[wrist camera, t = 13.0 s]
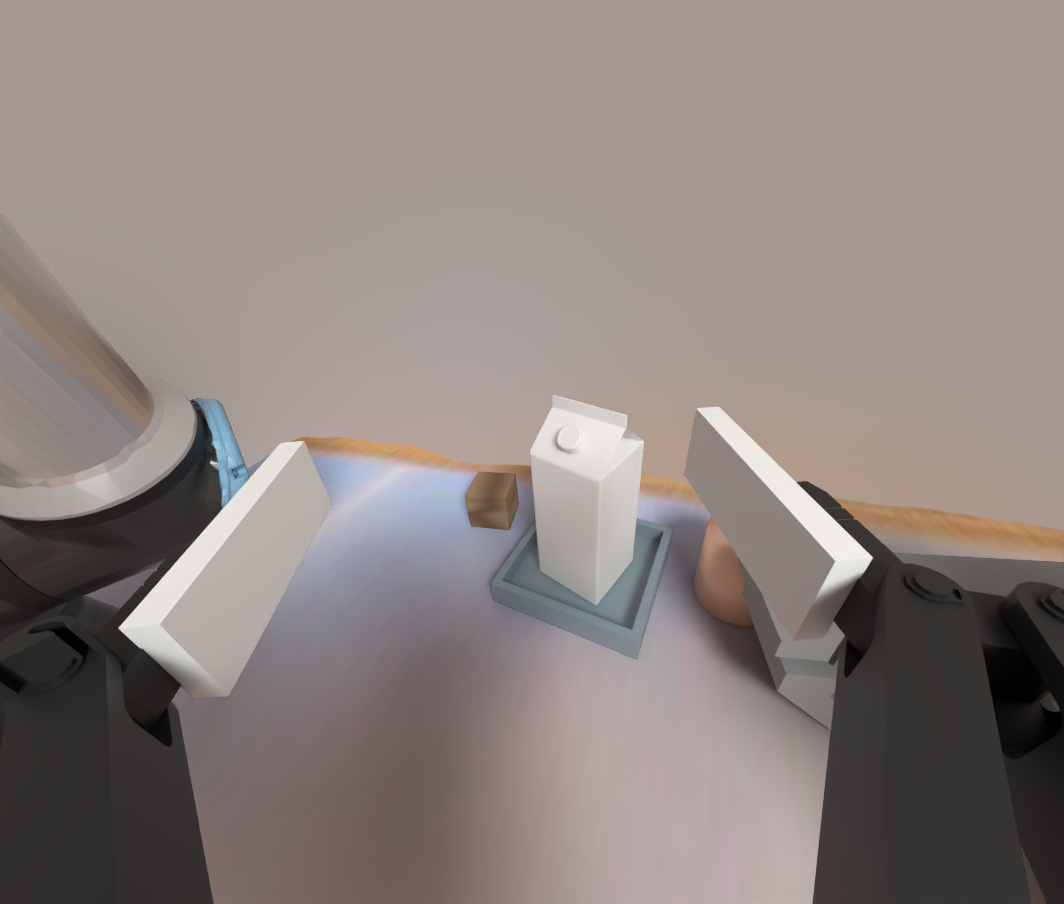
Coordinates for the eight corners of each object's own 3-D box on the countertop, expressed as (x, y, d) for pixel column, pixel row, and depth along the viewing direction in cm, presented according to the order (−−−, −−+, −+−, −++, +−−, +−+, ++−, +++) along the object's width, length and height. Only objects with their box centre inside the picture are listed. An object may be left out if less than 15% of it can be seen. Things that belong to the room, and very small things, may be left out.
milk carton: (577, 533, 46) (576, 381, 36) (633, 561, 42) (648, 398, 32) (539, 571, 42) (525, 410, 32) (596, 607, 38) (601, 435, 28)
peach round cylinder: (683, 602, 39) (696, 544, 34) (706, 555, 43) (719, 499, 39) (763, 640, 35) (789, 581, 30) (778, 584, 39) (803, 526, 35)
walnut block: (471, 526, 50) (464, 495, 47) (483, 501, 54) (478, 471, 51) (509, 530, 49) (505, 499, 46) (518, 504, 53) (515, 474, 50)
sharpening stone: (741, 727, 29) (780, 641, 24) (716, 630, 36) (742, 544, 30) (1159, 778, 25) (1332, 690, 20) (1045, 659, 32) (1149, 566, 26)
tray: (493, 600, 40) (490, 583, 39) (553, 512, 51) (552, 496, 50) (636, 659, 34) (638, 641, 33) (670, 545, 45) (673, 528, 43)
